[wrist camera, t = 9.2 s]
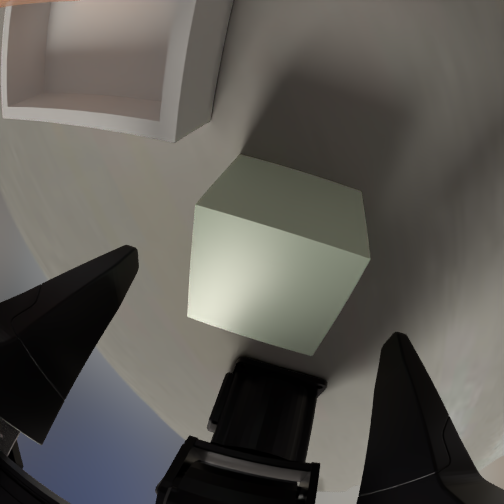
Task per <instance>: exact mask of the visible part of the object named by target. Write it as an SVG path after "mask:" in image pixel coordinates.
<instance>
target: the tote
mask: <svg viewBox="0 0 504 504" xmlns="http://www.w3.org/2000/svg"><path fill="white" fill-rule="evenodd" d="M233 1H234V0H78V1H65V2H43V3H31V4H22V5H14V6H7V7H6V10H5V17H4V26H3V37H2V53H1V98H2V114H3V118H9V119H22V120H33V121H43V122H53V123H61V124H69V125H77V126H84V127H91V128H97V129H103V130H110V131H116V132H121V133H127V134H132V135H138V136H143V137H148V138H153V139H158V140H163V141H168V142H172V143H176V142H177V141H179V140H180V139H182V138H183V137H185V136H187V135H188V134H190V133H192V132H193V131H195V130H197V129H198V128H200V127H202V126H203V125H205V124H207V123H208V122H210V120H211V114H212V108H213V102H214V96H215V90H216V84H217V79H218V73H219V68H220V63H221V57H222V52H223V47H224V42H225V37H226V32H227V28H228V23H229V18H230V14H231V9H232V5H233Z"/></svg>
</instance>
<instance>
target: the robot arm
mask: <svg viewBox="0 0 504 504" xmlns="http://www.w3.org/2000/svg"><path fill="white" fill-rule="evenodd" d="M138 268H139V263H138V251H137V249H136V248H135V247H132V246H129V245H124V246H122V247H120V248H117V249H115V250H113V251H111V252H108V253H106V254H104V255H102V256H99V257H97V258H95V259H93V260H91V261H88V262H86V263H84V264H82V265H80V266H78V267H76V268H73V269H71V270H69V271H67V272H65V273H63V274H61V275H59V276H57V277H55V278H53V279H50V280H48V281H46V282H45V283H42V285H38V286H36V287H34V288H32V289H30V290H28V291H26V292H24V293H22V294H20V295H17V296H15V297H13V298H10V299H8V300H5V301H3V302H1V303H0V504H70V503H68V502H67V501H66V500H64V499H63V498H61V497H59V496H58V495H56V494H55V493H54V492H52V491H51V490H49V489H48V488H46V487H45V486H44V485H42V484H41V483H39V482H38V481H37V480H35V479H34V478H33V477H32V476H30V475H29V474H28V473H26V472H25V471H24V470H23V469H22V468H23V463H22V459H21V455H20V452H19V447H18V443H17V438H18V436H19V434H20V432H22V433H23V434H25V435H26V436H28V437H29V438H31V439H32V440H34V441H35V442H37V443H38V444H40V445H42V444H43V442H44V440H45V438H46V436H47V434H48V432H49V430H50V428H51V426H52V424H53V422H54V420H55V418H56V416H57V414H58V412H59V410H60V408H61V407H62V405H63V403H64V400H65V399H66V397H67V395H68V393H69V391H70V389H71V388H72V386H73V384H74V382H75V380H76V378H77V377H78V375H79V373H80V372H81V370H82V368H83V366H84V365H85V363H86V361H87V359H88V358H89V356H90V354H91V353H92V351H93V349H94V348H95V346H96V344H97V343H98V341H99V339H100V338H101V336H102V334H103V333H104V331H105V330H106V328H107V326H108V325H109V323H110V322H111V320H112V318H113V317H114V315H115V314H116V312H117V310H118V309H119V307H120V305H121V303H122V301H123V299H124V297H125V295H126V293H127V291H128V289H129V287H130V285H131V283H132V281H133V280H134V278H135V276H136V274H137V272H138ZM326 387H327V381H325V380H323V379H319V378H315V377H312V376H308V375H304V374H300V373H297V372H293V371H290V370H286V369H283V368H279V367H276V366H272V365H269V364H266V363H262V362H259V361H256V360H253V359H250V358H246V357H239V358H238V360H237V363H236V366H235V369H234V372H233V373H230V372H229V373H227V374H226V375H225V378H224V380H223V383H222V386H221V388H220V391H219V394H218V397H217V399H216V402H215V405H214V407H213V410H212V413H211V415H210V418H209V422H208V425H207V429H208V431H210V432H213V433H214V434H213V437H212V440H211V442H210V443H209V442H206V441H202V440H199V439H198V438H196V437H193V436H189V437H188V439H187V440H185V443H184V444H183V445H182V446H181V448H180V450H179V452H178V454H177V455H176V457H175V459H174V460H173V462H172V464H171V466H170V468H169V469H168V471H167V473H166V474H165V476H164V477H163V479H162V480H161V481H160V482H159V484H158V485H157V487H156V489H155V491H156V493H157V499H156V504H315V499H316V493H317V485H318V478H319V470H320V463H314V462H312V463H305V460H306V456H307V451H308V446H309V440H310V435H311V430H312V424H313V419H314V413H315V407H316V401H317V398H318V396H319V395H320V394H321V393H322V392H323V391H324V390H325V389H326ZM297 482H300V485H299V486H297ZM357 504H504V490H503V489H501V488H499V487H497V486H495V485H494V484H492V483H489V482H488V481H486V480H485V479H484V478H483V477H482V476H481V475H480V474H479V472H478V471H477V469H476V467H475V465H474V463H473V461H472V459H471V458H470V456H469V454H468V452H467V450H466V448H465V447H464V445H463V443H462V441H461V439H460V437H459V435H458V433H457V431H456V429H455V427H454V425H453V423H452V420H451V418H450V417H449V414H448V412H447V410H446V408H445V406H444V404H443V402H442V400H441V398H440V396H439V394H438V392H437V390H436V388H435V386H434V384H433V382H432V380H431V378H430V376H429V375H428V373H427V371H426V369H425V367H424V365H423V363H422V361H421V360H420V358H419V356H418V354H417V352H416V351H415V349H414V347H413V345H412V343H411V342H410V340H409V338H408V336H407V335H406V334H404V333H400V332H395V333H393V334H392V336H391V337H390V338H389V339H388V340H387V341H386V343H385V344H384V345H383V347H382V349H381V355H380V361H379V367H378V372H377V378H376V383H375V389H374V398H373V408H372V417H371V425H370V433H369V440H368V447H367V453H366V459H365V465H364V471H363V476H362V481H361V486H360V491H359V497H358V500H357Z"/></svg>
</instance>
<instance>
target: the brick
mask: <svg viewBox="0 0 504 504" xmlns="http://www.w3.org/2000/svg"><path fill="white" fill-rule="evenodd" d="M65 1H78V0H0V8H1V7H7V6H14V5H22V4H31V3H43V2H65Z"/></svg>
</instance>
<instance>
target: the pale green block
mask: <svg viewBox="0 0 504 504" xmlns="http://www.w3.org/2000/svg"><path fill="white" fill-rule="evenodd" d="M370 259H371V258H370V249H369V240H368V232H367V225H366V218H365V211H364V204H363V198H362V192H361V191H359V190H356V189H353V188H350V187H348V186H345V185H342V184H339V183H336V182H333V181H330V180H327V179H324V178H321V177H318V176H314V175H311V174H308V173H305V172H302V171H298V170H295V169H292V168H288V167H285V166H282V165H278V164H275V163H271V162H268V161H264V160H260V159H257V158H253V157H249V156H245V155H241V154H240V155H239V156H238V157H237V158H236V159H235V160H234V161H233V162H232V163H231V165H230V166H229V167H228V168H227V169H226V170H225V171H224V172H223V173H222V175H221V176H220V177H219V178H218V179H217V180H216V181H215V182H214V184H213V185H212V186H211V187H210V188H209V189H208V190H207V192H206V193H205V194H204V195H203V196H202V197H201V199H200V200H199V201H198V202H197V203H196V204H195V214H194V225H193V237H192V249H191V263H190V278H189V295H188V315H187V317H190V318H192V319H195V320H198V321H201V322H204V323H206V324H209V325H212V326H215V327H218V328H221V329H224V330H227V331H230V332H233V333H236V334H239V335H242V336H245V337H248V338H251V339H255V340H258V341H261V342H264V343H267V344H271V345H274V346H277V347H281V348H284V349H288V350H291V351H295V352H298V353H302V354H305V355H309V356H313V354H314V353H315V351H316V350H317V348H318V346H319V345H320V343H321V342H322V340H323V339H324V337H325V336H326V334H327V333H328V331H329V329H330V328H331V326H332V325H333V323H334V321H335V320H336V318H337V316H338V315H339V313H340V312H341V310H342V308H343V307H344V305H345V303H346V302H347V300H348V298H349V296H350V295H351V293H352V291H353V290H354V288H355V286H356V284H357V283H358V281H359V279H360V277H361V276H362V274H363V272H364V270H365V268H366V266H367V265H368V263H369V261H370Z"/></svg>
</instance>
